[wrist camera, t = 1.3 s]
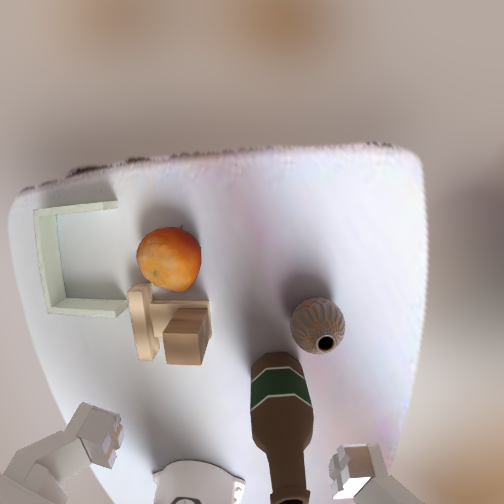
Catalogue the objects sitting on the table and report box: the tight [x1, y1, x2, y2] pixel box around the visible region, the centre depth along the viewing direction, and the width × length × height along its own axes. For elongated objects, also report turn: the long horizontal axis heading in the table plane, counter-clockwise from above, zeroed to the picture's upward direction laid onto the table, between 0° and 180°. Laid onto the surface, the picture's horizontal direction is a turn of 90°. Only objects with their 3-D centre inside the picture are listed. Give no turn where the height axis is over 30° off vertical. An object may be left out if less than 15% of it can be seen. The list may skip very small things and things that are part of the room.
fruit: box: [136, 225, 201, 292], centre depth 38 cm, size 8×8×8 cm
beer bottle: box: [250, 352, 314, 504], centre depth 32 cm, size 8×8×24 cm
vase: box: [290, 297, 345, 354], centre depth 38 cm, size 7×7×9 cm
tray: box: [33, 201, 128, 318], centre depth 38 cm, size 15×12×4 cm
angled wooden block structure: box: [127, 283, 212, 365], centre depth 38 cm, size 10×10×10 cm
